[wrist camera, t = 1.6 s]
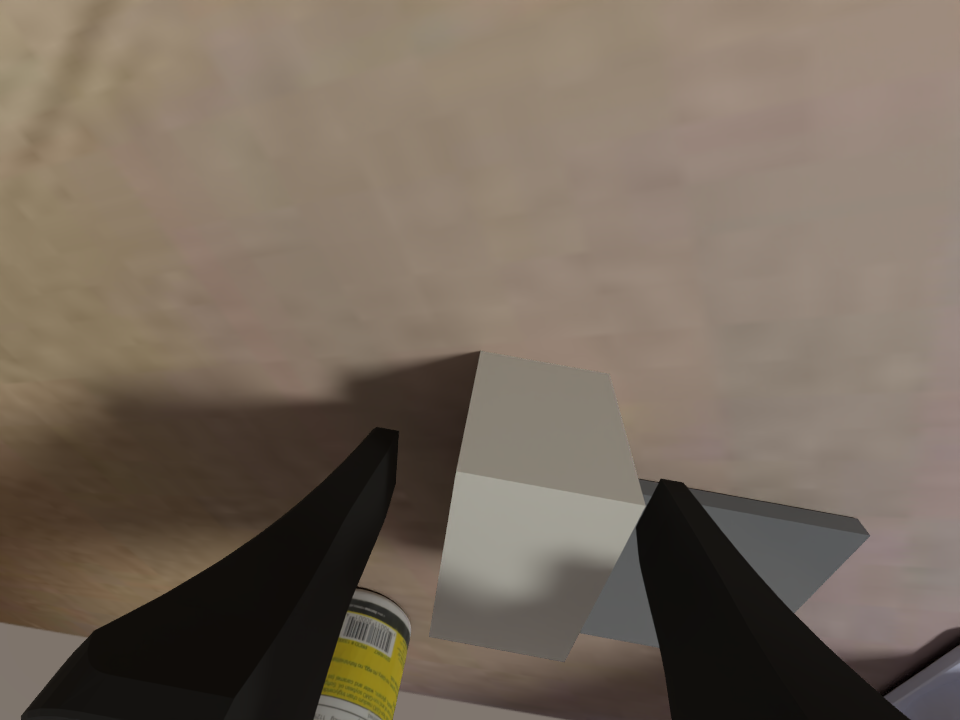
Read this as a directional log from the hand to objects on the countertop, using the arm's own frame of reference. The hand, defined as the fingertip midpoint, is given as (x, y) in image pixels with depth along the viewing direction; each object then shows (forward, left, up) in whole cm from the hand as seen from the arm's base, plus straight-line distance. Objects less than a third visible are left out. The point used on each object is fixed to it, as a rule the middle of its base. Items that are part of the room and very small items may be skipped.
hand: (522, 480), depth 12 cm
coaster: (-6, +4, -1) cm, 8 cm away
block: (0, 0, -2) cm, 2 cm away
